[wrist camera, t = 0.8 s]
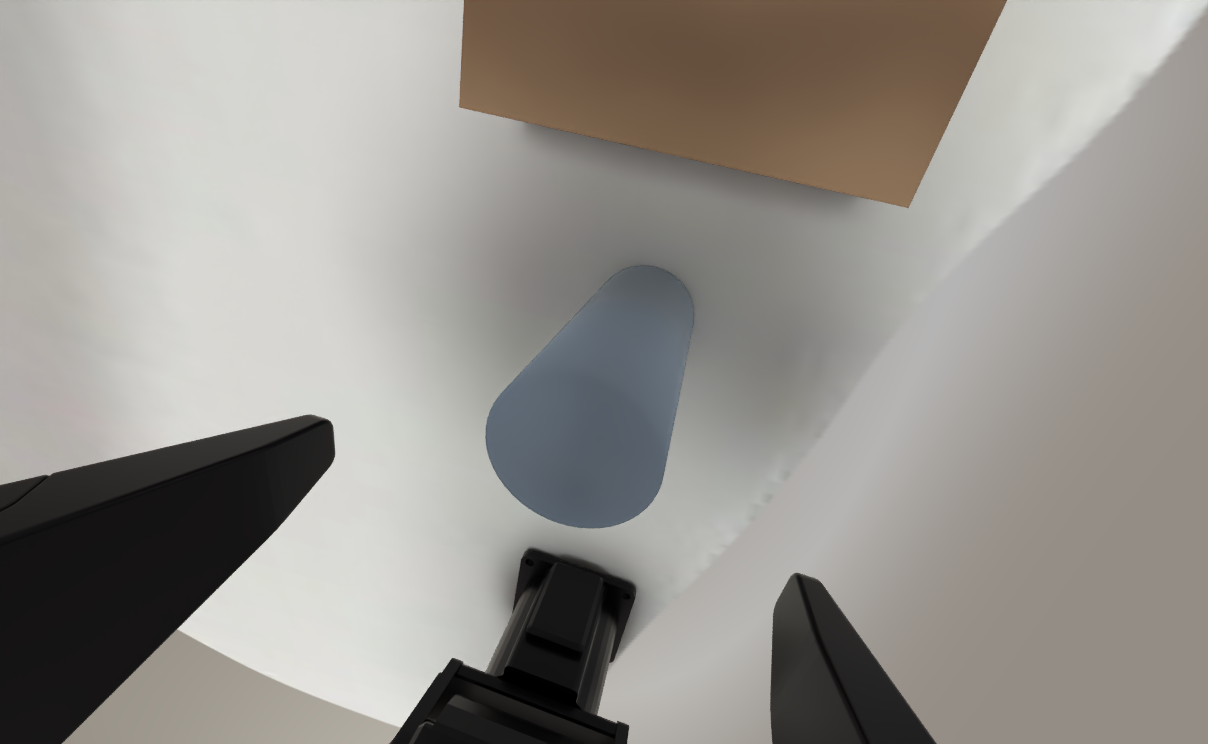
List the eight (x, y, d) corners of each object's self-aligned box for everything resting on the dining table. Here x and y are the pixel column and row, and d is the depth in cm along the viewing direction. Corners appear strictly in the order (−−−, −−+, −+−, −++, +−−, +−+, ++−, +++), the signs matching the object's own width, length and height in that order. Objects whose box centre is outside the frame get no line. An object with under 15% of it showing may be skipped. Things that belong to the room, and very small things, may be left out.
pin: (678, 371, 20) (640, 550, 11) (588, 346, 20) (479, 496, 11) (706, 280, 18) (687, 404, 9) (606, 254, 18) (493, 347, 9)
